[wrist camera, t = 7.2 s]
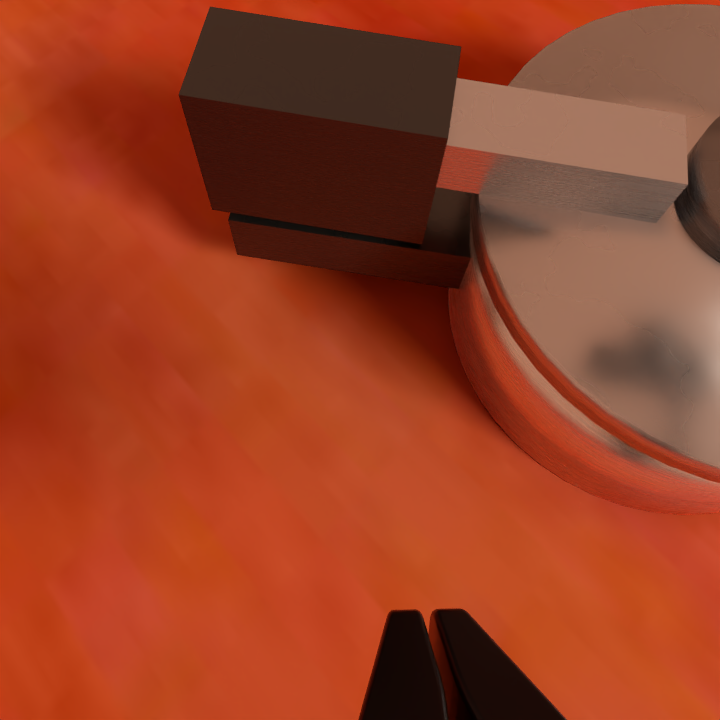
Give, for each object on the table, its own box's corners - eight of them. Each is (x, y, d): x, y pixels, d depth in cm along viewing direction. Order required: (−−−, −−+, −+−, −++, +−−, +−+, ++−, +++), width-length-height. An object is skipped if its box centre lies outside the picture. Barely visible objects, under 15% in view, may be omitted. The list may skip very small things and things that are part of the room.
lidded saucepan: (919, 100, 24) (1059, -22, 20) (1015, 549, 18) (1253, 526, 13) (276, -2, 25) (263, -144, 20) (154, 399, 19) (95, 328, 14)
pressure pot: (880, 187, 28) (1002, 92, 23) (950, 560, 22) (1135, 544, 17) (290, 97, 29) (281, -15, 24) (204, 440, 23) (167, 388, 18)
